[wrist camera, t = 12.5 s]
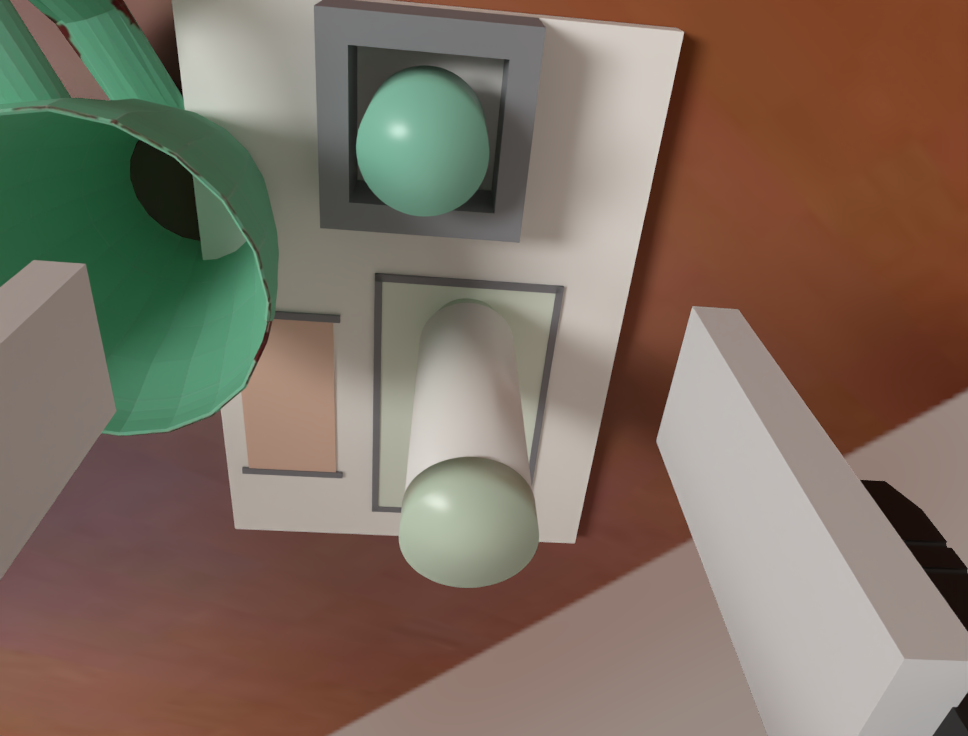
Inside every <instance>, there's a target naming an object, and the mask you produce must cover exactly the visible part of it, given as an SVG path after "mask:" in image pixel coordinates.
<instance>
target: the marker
mask: <svg viewBox="0 0 968 736" xmlns="http://www.w3.org/2000/svg"><path fill="white" fill-rule="evenodd" d="M538 543H539V528H538V520H537V512H536V504H535V498H534V494H533V492H532V485H531V477H530V469H529V461H528V453H527V445H526V436H525V428H524V420H523V412H522V404H521V396H520V387H519V379H518V371H517V363H516V355H515V347H514V339H513V334H512V331H511V328H510V326H509V325H508V323H507V322H506V320H505V319H504V318H503V317H502V316H501V315H500V314H499V313H497V312H496V311H495V310H494V309H493V308H492V307H491V306H489V305H488V304H486V303H485V302H482V301H480V300H476V299H471V298H463V299H457V300H453V301H451V302H449V303H447V304H445V305H444V306H442V307H441V308H440V309H439V310H438V311H437V312H436V313H435V314H434V315H433V316H432V317H431V318H430V319H429V320H428V321H427V322H426V324H425V326H424V327H423V330H422V332H421V336H420V343H419V353H418V363H417V373H416V384H415V394H414V404H413V414H412V424H411V434H410V445H409V455H408V465H407V475H406V485H405V493H404V496H403V500H402V508H401V518H400V528H399V545H400V549H401V551H402V554H403V556H404V558H405V559H406V561H407V562H408V563H409V564H410V566H411V567H412V568H413V569H415V570H416V571H417V572H418V573H420V574H421V575H423V576H424V577H426V578H428V579H430V580H432V581H434V582H437V583H440V584H443V585H447V586H452V587H461V588H475V587H484V586H489V585H493V584H496V583H499V582H502V581H504V580H506V579H508V578H510V577H512V576H514V575H515V574H517V573H518V572H520V571H521V570H522V569H523V568H524V567H525V566H526V565H527V564H528V563H529V562H530V561H531V559H532V558H533V556H534V554H535V552H536V550H537V547H538Z"/></svg>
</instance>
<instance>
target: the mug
mask: <svg viewBox="0 0 968 736" xmlns="http://www.w3.org/2000/svg"><path fill="white" fill-rule="evenodd" d="M29 1H30V2H31V3H32V4H33V5H34V6H36V7H37V8H38V9H39V10H40V11H41V12H42V13H44V14H45V15H46V16H47V17H48V18H49V19H51V20H52V21H53V22H54V23H55V24H56V25H57V27H58V28H59V29H60V31H61V32H62V34H63V35H64V36H65V38H66V39H67V41H68V42H69V43H70V45H71V46H72V47H73V49H74V50H75V52H76V53H77V54H78V56H79V57H80V59H81V60H82V61H83V63H84V64H85V65H86V67H87V68H88V70H89V71H90V72H91V74H92V75H93V76H94V78H95V79H96V81H97V82H98V83H99V85H100V86H101V88H102V89H103V90H104V92H105V93H106V94H107V96H108V97H109V99H110V100H111V101H107V100H95V99H84V98H71V96H70V95H69V93H68V92H67V90H66V89H65V87H64V85H63V84H62V82H61V81H60V79H59V77H58V76H57V74H56V73H55V71H54V70H53V68H52V66H51V65H50V63H49V62H48V60H47V58H46V57H45V55H44V54H43V52H42V51H41V49H40V47H39V46H38V44H37V43H36V41H35V39H34V38H33V36H32V35H31V33H30V32H29V30H28V28H27V27H26V25H25V24H24V22H23V21H22V19H21V17H20V16H19V14H18V13H17V11H16V9H15V8H14V6H13V5H12V3H11V1H10V0H0V287H1V286H2V285H4V284H5V283H6V282H7V281H9V280H10V279H11V278H12V277H13V276H15V275H16V274H17V273H18V272H20V271H21V270H22V269H23V268H24V267H26V266H27V265H28V264H29V263H31V262H32V261H33V260H39V261H54V262H68V263H82V264H86V268H87V272H88V277H89V282H90V287H91V291H92V296H93V301H94V306H95V311H96V315H97V320H98V325H99V330H100V335H101V339H102V344H103V349H104V354H105V359H106V363H107V368H108V373H109V378H110V383H111V387H112V392H113V397H114V402H115V407H116V413H115V414H114V415H113V417H112V418H111V420H110V421H109V423H108V424H107V426H106V427H105V429H104V430H103V431H102V433H103V434H109V435H115V436H130V435H142V434H154V433H166V432H172V431H174V430H177V429H180V428H182V427H185V426H187V425H190V424H193V423H195V422H198V421H200V420H203V419H206V418H208V417H211V416H213V415H214V414H216V413H217V412H218V411H219V410H220V409H221V408H223V407H224V406H225V405H226V404H227V403H229V402H230V401H231V400H232V399H233V398H234V397H236V396H237V395H238V394H239V393H240V392H242V391H243V390H244V389H245V388H246V387H247V385H248V383H249V381H250V378H251V376H252V374H253V372H254V370H255V368H256V366H257V364H258V361H259V359H260V357H261V355H262V353H263V351H264V349H265V346H266V344H267V342H268V338H269V334H270V330H271V326H272V321H273V320H274V317H275V309H276V299H277V289H278V260H279V249H278V237H277V229H276V225H275V221H274V216H273V212H272V208H271V204H270V199H269V195H268V191H267V188H266V184H265V180H264V178H263V176H262V174H261V172H260V171H259V169H258V167H257V166H256V164H255V162H254V160H253V159H252V157H251V155H250V154H249V152H248V150H247V149H246V148H245V147H244V146H243V145H241V144H240V143H239V142H238V141H237V140H236V139H235V138H234V137H233V136H232V135H231V134H230V133H229V132H228V131H227V130H226V129H225V128H223V127H221V126H219V125H217V124H215V123H214V122H212V121H210V120H208V119H206V118H205V117H203V116H201V115H199V114H197V113H195V112H191V111H187V110H185V107H184V99H183V96H182V95H181V93H180V92H179V90H178V88H177V87H176V85H175V83H174V82H173V80H172V79H171V77H170V75H169V74H168V72H167V70H166V69H165V67H164V66H163V64H162V62H161V61H160V59H159V57H158V56H157V54H156V53H155V51H154V49H153V48H152V46H151V45H150V43H149V41H148V40H147V38H146V36H145V35H144V33H143V32H142V30H141V28H140V27H139V25H138V23H137V22H136V20H135V19H134V17H133V15H132V14H131V12H130V10H129V9H128V7H127V6H126V4H125V2H124V1H123V0H29ZM139 140H141V141H143V142H145V143H147V144H149V145H151V146H153V147H155V148H157V149H158V150H160V151H162V152H164V153H166V154H168V155H170V156H172V157H174V158H175V159H176V160H177V161H178V162H179V163H180V164H181V165H183V166H184V167H185V168H186V169H187V170H188V171H189V172H190V173H191V174H192V175H193V176H194V177H196V178H197V179H198V180H199V181H200V182H201V183H202V184H203V185H204V186H205V187H206V188H208V189H209V190H210V191H211V192H212V193H213V194H214V195H215V196H216V197H217V198H218V199H220V200H221V201H222V202H223V204H224V206H225V207H226V209H227V211H228V212H229V214H230V215H231V217H232V219H233V220H234V222H235V223H236V225H237V227H238V228H239V230H240V231H241V233H242V235H243V236H244V238H245V239H246V242H245V243H244V244H243V245H242V246H241V247H240V248H239V249H238V250H236V251H235V252H232V253H230V254H228V255H225V256H223V257H221V258H218V259H212V260H203V257H202V249H201V241H198V240H193V239H188V238H183V237H181V236H179V235H177V234H175V233H173V232H171V231H169V230H167V229H165V228H163V227H162V226H161V225H160V224H159V223H158V222H156V221H155V220H154V219H153V218H152V217H151V216H149V215H148V213H147V212H146V210H145V209H144V208H143V206H142V205H141V203H140V202H139V200H138V199H137V197H136V194H135V191H134V188H133V185H132V182H131V179H130V159H131V156H132V154H133V151H134V148H135V145H136V143H137V142H138V141H139Z"/></svg>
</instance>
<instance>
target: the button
mask: <svg viewBox="0 0 968 736" xmlns="http://www.w3.org/2000/svg"><path fill="white" fill-rule="evenodd" d="M356 154H357V160H358V165H359V168H360V171H361V174H362V176H363V178H364V180H365V182H366V183H367V185H368V186H369V188H370V189H371V190H372V192H373V193H374V194H375V195H376V196H377V197H378V198H379V199H380V200H381V201H383V202H384V203H385V204H387V205H388V206H390V207H392V208H393V209H395V210H397V211H400V212H402V213H405V214H409V215H414V216H437V215H441V214H445V213H447V212H450V211H453V210H454V209H456V208H458V207H460V206H461V205H463V204H464V203H465V202H467V201H468V200H469V199H470V198H471V197H472V196H473V195H474V193H475V192H476V191H477V190H478V188H479V186H480V185H481V183H482V181H483V179H484V177H485V174H486V171H487V167H488V162H489V142H488V134H487V127H486V120H485V115H484V111H483V108H482V105H481V102H480V100H479V99H478V97H477V95H476V93H475V92H474V91H473V89H472V88H471V87H470V86H469V85H468V84H467V83H466V82H465V81H464V80H463V79H462V78H461V77H459V76H458V75H456V74H454V73H453V72H451V71H448V70H446V69H443V68H440V67H436V66H430V65H419V66H412V67H408V68H405V69H403V70H400V71H398V72H396V73H395V74H393V75H391V76H390V77H389V78H388V79H386V80H385V81H384V82H383V83H382V84H381V85H380V86H379V88H378V89H377V91H376V92H375V94H374V96H373V98H372V100H371V102H370V104H369V106H368V108H367V110H366V113H365V115H364V117H363V119H362V121H361V124H360V127H359V130H358V134H357V141H356Z"/></svg>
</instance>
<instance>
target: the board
mask: <svg viewBox="0 0 968 736" xmlns="http://www.w3.org/2000/svg"><path fill="white" fill-rule="evenodd" d="M172 7H173V16H174V24H175V32H176V41H177V49H178V57H179V66H180V74H181V82H182V91H183V99H184V107H185V110H187V111H191V112H195V113H197V114H199V115H201V116H203V117H205V118H206V119H208V120H210V121H212V122H214V123H215V124H217V125H219V126H221V127H223V128H225V129H226V130H227V131H228V132H229V133H230V134H231V135H232V136H233V137H234V138H235V139H236V140H237V141H238V142H239V143H240V144H241V145H243V146H244V147H245V148H246V149H247V150H248V152H249V154H250V155H251V157H252V159H253V160H254V162H255V164H256V166H257V167H258V169H259V171H260V172H261V174H262V176H263V178H264V180H265V184H266V188H267V191H268V195H269V199H270V204H271V208H272V212H273V216H274V221H275V225H276V229H277V237H278V249H279V260H278V289H277V299H276V309H275V317H274V320H273V321H272V326H271V330H270V334H269V338H268V342H267V344H266V346H265V349H264V351H263V353H262V355H261V357H260V359H259V361H258V364H257V366H256V368H255V370H254V372H253V374H252V376H251V378H250V381H249V383H248V385H247V387H246V388H245V389H244V390H243V391H242V392H240V393H239V394H238V395H237V396H236V397H234V398H233V399H232V400H231V401H230V402H229V403H227V404H226V405H225V406H224V407H223V408H221V416H222V424H223V432H224V441H225V449H226V457H227V466H228V474H229V482H230V491H231V499H232V507H233V516H234V524H235V529H251V530H274V531H297V532H321V533H344V534H368V535H391V536H399V528H400V518H401V508H402V500H403V496H404V493H405V485H406V475H407V465H408V455H409V445H410V434H411V424H412V414H413V404H414V394H415V384H416V373H417V363H418V353H419V343H420V336H421V332H422V330H423V327H424V326H425V324H426V322H427V321H428V320H429V319H430V318H431V317H432V316H433V315H434V314H435V313H436V312H437V311H438V310H439V309H440V308H441V307H442V306H444V305H445V304H447V303H449V302H451V301H453V300H457V299H463V298H471V299H476V300H480V301H482V302H485V303H486V304H488V305H489V306H491V307H492V308H493V309H494V310H495V311H496V312H497V313H499V314H500V315H501V316H502V317H503V318H504V319H505V320H506V322H507V323H508V325H509V326H510V328H511V331H512V334H513V339H514V347H515V355H516V363H517V371H518V379H519V387H520V396H521V404H522V412H523V420H524V428H525V436H526V445H527V453H528V461H529V469H530V477H531V485H532V492H533V494H534V498H535V504H536V512H537V520H538V528H539V542H554V543H575V541H576V536H577V531H578V527H579V522H580V517H581V513H582V508H583V503H584V499H585V494H586V489H587V484H588V480H589V475H590V470H591V466H592V461H593V456H594V452H595V447H596V442H597V438H598V433H599V428H600V424H601V419H602V414H603V410H604V405H605V400H606V396H607V391H608V386H609V382H610V377H611V372H612V367H613V363H614V358H615V353H616V349H617V344H618V339H619V335H620V330H621V325H622V321H623V316H624V311H625V307H626V302H627V297H628V293H629V288H630V283H631V279H632V274H633V269H634V265H635V260H636V255H637V250H638V246H639V241H640V236H641V232H642V227H643V222H644V218H645V213H646V208H647V204H648V199H649V194H650V190H651V185H652V180H653V176H654V171H655V166H656V162H657V157H658V152H659V148H660V143H661V138H662V133H663V129H664V124H665V119H666V115H667V110H668V105H669V101H670V96H671V91H672V87H673V82H674V77H675V73H676V68H677V63H678V59H679V54H680V49H681V45H682V40H683V35H684V31H682V30H680V29H678V28H672V27H662V26H651V25H641V24H630V23H620V22H610V21H599V20H589V19H579V18H568V17H558V16H547V15H537V14H527V13H516V12H506V11H496V10H485V9H475V8H464V7H454V6H444V5H433V4H423V3H413V2H402V1H392V0H172ZM419 65H430V66H436V67H440V68H443V69H446V70H448V71H451V72H453V73H454V74H456V75H458V76H459V77H461V78H462V79H463V80H464V81H465V82H466V83H467V84H468V85H469V86H470V87H471V88H472V89H473V91H474V92H475V93H476V95H477V97H478V99H479V100H480V102H481V105H482V108H483V111H484V115H485V120H486V127H487V134H488V142H489V162H488V167H487V171H486V174H485V177H484V179H483V181H482V183H481V185H480V186H479V188H478V190H477V191H476V192H475V193H474V195H473V196H472V197H471V198H470V199H469V200H468V201H467V202H465V203H464V204H463V205H461V206H460V207H458V208H456V209H454V210H453V211H450V212H447V213H445V214H441V215H437V216H414V215H409V214H405V213H402V212H400V211H397V210H395V209H393V208H392V207H390V206H388V205H387V204H385V203H384V202H383V201H381V200H380V199H379V198H378V197H377V196H376V195H375V194H374V193H373V192H372V190H371V189H370V188H369V186H368V185H367V183H366V182H365V180H364V178H363V176H362V174H361V171H360V168H359V165H358V160H357V154H356V141H357V134H358V130H359V127H360V124H361V121H362V119H363V117H364V115H365V113H366V110H367V108H368V106H369V104H370V102H371V100H372V98H373V96H374V94H375V92H376V91H377V89H378V88H379V86H380V85H381V84H382V83H383V82H384V81H385V80H386V79H388V78H389V77H390V76H391V75H393V74H395V73H396V72H398V71H400V70H403V69H405V68H408V67H412V66H419ZM193 182H194V191H195V199H196V207H197V216H198V224H199V232H200V241H201V249H202V257H203V260H212V259H218V258H221V257H223V256H225V255H228V254H230V253H232V252H235V251H236V250H238V249H239V248H240V247H241V246H242V245H243V244H244V243H245V242H246V239H245V238H244V236H243V235H242V233H241V231H240V230H239V228H238V227H237V225H236V223H235V222H234V220H233V219H232V217H231V215H230V214H229V212H228V211H227V209H226V207H225V206H224V204H223V202H222V201H221V200H220V199H218V198H217V197H216V196H215V195H214V194H213V193H212V192H211V191H210V190H209V189H208V188H206V187H205V186H204V185H203V184H202V183H201V182H200V181H199V180H198V179H197V178H196V177H194V176H193Z"/></svg>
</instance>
